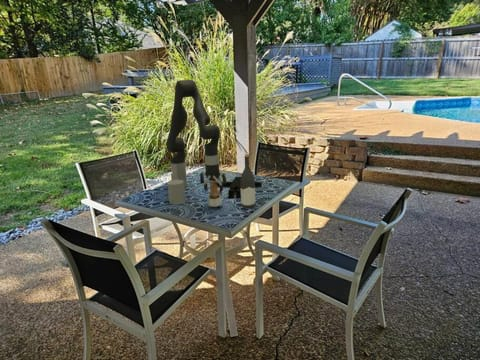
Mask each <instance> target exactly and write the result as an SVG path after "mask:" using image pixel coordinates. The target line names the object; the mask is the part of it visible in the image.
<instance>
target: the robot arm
mask: <svg viewBox="0 0 480 360" xmlns="http://www.w3.org/2000/svg"><path fill="white" fill-rule="evenodd" d="M184 98H192V99H193V107H192V113H193V117H194V118H195V121H196V123H197V124H198V130H199V131H198V132H199V136H200V138H201V139H202V140H204V141H208V140H210V141H209V142H207V143H205V144H204V166H205V172H204V171H201V172H200V173H199V176H200V177H199V178H200V180H199V182H200V184H202V185H203V189H204V191H205V192H207V191H208V187H209V186H208V183H209V182H211V181H216V182H218V183H219V184H220V187H219V188H220V192H222V193H223V190H224V187H223V185H225V183H226V182H227V174H226V173H225V172H223V173H220V157H219V147H218V146H219V141H220V137H221V129H220V127H219V126H218V125H216V124H210V123H211V117H210V115H209V114H208V112H207V110H206V108H205V106H204V103H203V100H202V97H201V94H200V92H199V89H198V86H197V84H196V82H195V81H194V80H192V79H180V80H177V81H176V83H175V86H174V100H173V101H174V102H173V108H172V114H171V119H170V126H169V127H170V128H169V131H168V135H167V139H166V144H165V145H166V150H167V152H168V153H170V154H173V153H174V154H175V153H176V154H175V155H174V156H172V157H170V166H171V174H170V176H171V177H170V179H171V180H177V179H179V180H183V181H184V189H185V188H187V187H188V181H187V180H188V179H187V168H186V166H187V165H186V149H185V148H186V146H185V141H184V138H182V137H178V136H179V135H180V134H181V133H182V132H183V130H184V129H185V128H186V126H187V124H188V123H187V122H188V112H187V109H186V108H185V107H184V105H183V100H184ZM205 176H206V179H205ZM221 178H222V179H221Z"/></svg>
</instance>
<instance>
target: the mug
mask: <svg viewBox="0 0 480 360" xmlns="http://www.w3.org/2000/svg"><path fill="white" fill-rule="evenodd" d="M217 192H218V198H215V199H211V196H210V194H208V196H207V197H206V201H207V206H209V207H215V208H216V207H219V206H221V205H222V202H223V191H222V192H220V187H217Z"/></svg>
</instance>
